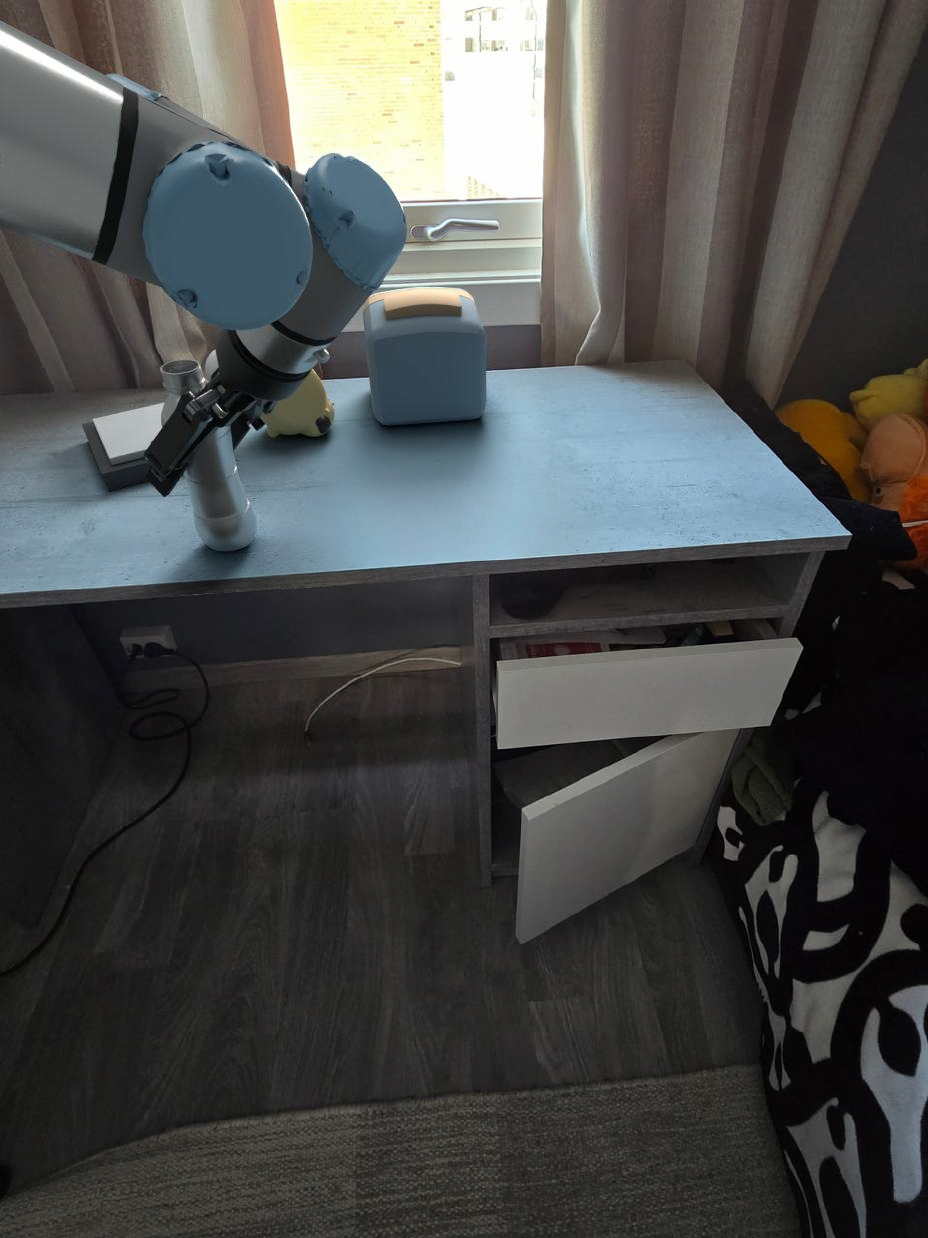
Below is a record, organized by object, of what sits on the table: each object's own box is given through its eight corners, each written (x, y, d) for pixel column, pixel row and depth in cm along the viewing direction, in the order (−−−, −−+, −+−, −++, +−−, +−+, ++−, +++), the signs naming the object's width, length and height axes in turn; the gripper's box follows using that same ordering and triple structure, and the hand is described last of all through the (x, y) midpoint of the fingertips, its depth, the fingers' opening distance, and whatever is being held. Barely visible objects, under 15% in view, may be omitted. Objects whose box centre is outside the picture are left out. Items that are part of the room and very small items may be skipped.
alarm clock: (472, 377, 111) (471, 270, 100) (488, 422, 99) (489, 306, 88) (370, 384, 109) (359, 277, 99) (374, 431, 97) (362, 314, 87)
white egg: (256, 403, 105) (245, 355, 100) (207, 405, 105) (193, 357, 100) (267, 377, 112) (257, 331, 107) (221, 378, 112) (209, 332, 107)
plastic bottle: (232, 565, 74) (177, 386, 61) (189, 547, 77) (127, 371, 64) (273, 536, 78) (231, 361, 65) (231, 519, 81) (182, 348, 68)
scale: (108, 491, 86) (98, 466, 84) (88, 440, 97) (78, 417, 94) (234, 458, 92) (227, 433, 90) (202, 413, 103) (195, 390, 100)
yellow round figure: (298, 469, 97) (348, 421, 92) (225, 412, 91) (274, 357, 86) (307, 434, 104) (354, 388, 99) (240, 379, 98) (286, 327, 93)
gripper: (216, 425, 51) (136, 544, 67) (376, 335, 64) (277, 452, 81) (142, 340, 49) (79, 483, 66) (322, 266, 62) (232, 400, 79)
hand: (188, 466), depth 73 cm, fingers open, 8 cm apart
